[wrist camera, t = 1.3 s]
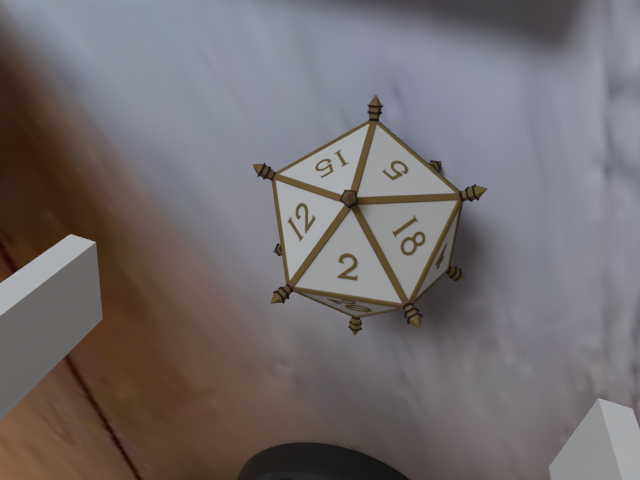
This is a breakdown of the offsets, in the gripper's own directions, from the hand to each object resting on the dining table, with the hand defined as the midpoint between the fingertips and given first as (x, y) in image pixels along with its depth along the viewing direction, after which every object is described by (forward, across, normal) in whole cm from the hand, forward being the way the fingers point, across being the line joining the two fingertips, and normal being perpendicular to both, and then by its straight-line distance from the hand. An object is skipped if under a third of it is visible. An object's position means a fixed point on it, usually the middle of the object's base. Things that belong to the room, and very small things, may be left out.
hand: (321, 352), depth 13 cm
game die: (+12, 0, 0) cm, 12 cm away
